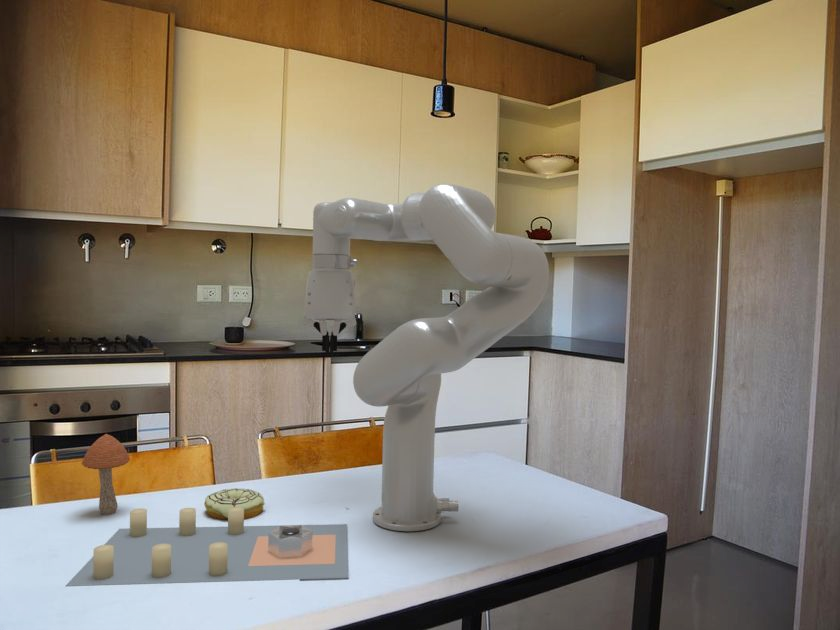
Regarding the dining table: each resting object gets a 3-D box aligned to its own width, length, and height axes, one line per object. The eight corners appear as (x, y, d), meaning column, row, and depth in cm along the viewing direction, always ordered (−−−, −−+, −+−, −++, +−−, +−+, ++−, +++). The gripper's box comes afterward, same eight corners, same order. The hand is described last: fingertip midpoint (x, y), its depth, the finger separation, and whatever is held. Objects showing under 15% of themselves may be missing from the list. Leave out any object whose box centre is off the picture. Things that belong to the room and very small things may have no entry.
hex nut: (311, 542, 107) (311, 523, 107) (312, 556, 101) (313, 537, 101) (268, 544, 106) (269, 525, 106) (267, 559, 100) (267, 539, 100)
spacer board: (347, 525, 116) (347, 502, 116) (348, 578, 94) (348, 550, 94) (119, 529, 111) (119, 505, 111) (65, 587, 89) (65, 557, 89)
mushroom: (81, 524, 113) (81, 439, 113) (81, 510, 120) (82, 430, 120) (130, 518, 117) (131, 436, 116) (128, 505, 124) (128, 427, 123)
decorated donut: (230, 528, 114) (230, 506, 114) (192, 514, 120) (193, 494, 120) (275, 512, 122) (275, 492, 122) (238, 500, 129) (238, 482, 128)
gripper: (367, 266, 135) (365, 353, 136) (295, 264, 134) (293, 352, 134) (368, 264, 128) (366, 357, 129) (292, 262, 126) (290, 356, 127)
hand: (329, 354), depth 131 cm, fingers closed
